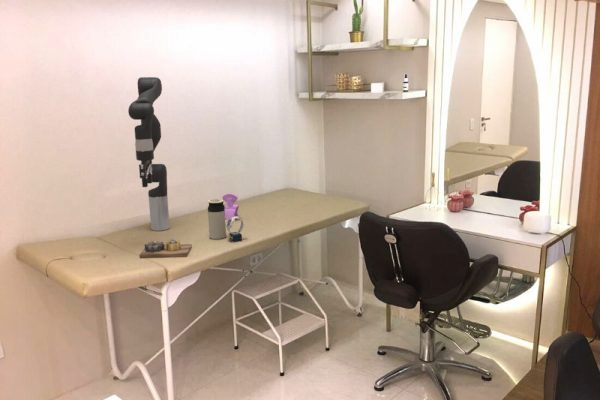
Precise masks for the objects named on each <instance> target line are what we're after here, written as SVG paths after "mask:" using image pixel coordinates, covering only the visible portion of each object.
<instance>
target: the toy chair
mask: <svg viewBox="0 0 600 400" xmlns="http://www.w3.org/2000/svg"><path fill="white" fill-rule="evenodd" d="M238 197H239V196H238V195H236V194H235V193H232V192H231V193H225V194H223V195H222V198H221V199H223V200H224V201H223V202H225V203H226V205H224V206H225V220H229V219H230V218H232V217H234V216H239V214H238V212H239V204H234V203H236V201H238Z"/></svg>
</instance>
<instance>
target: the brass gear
mask: <svg viewBox="0 0 600 400" xmlns="http://www.w3.org/2000/svg"><path fill="white" fill-rule="evenodd" d="M165 245H166V250H167V251H178V250H179V249H181V245H182V242H181V241H180V240H177V239H175V243H174V244H171V240H169V241H167V242H165Z"/></svg>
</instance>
